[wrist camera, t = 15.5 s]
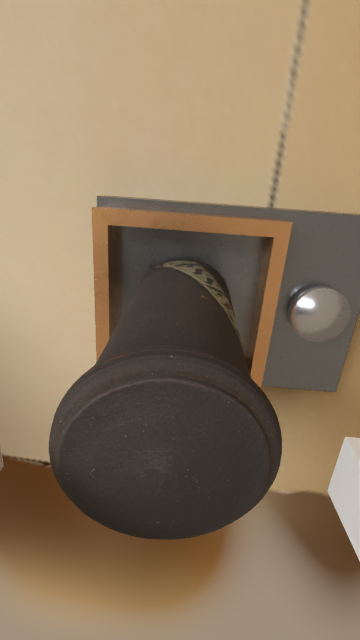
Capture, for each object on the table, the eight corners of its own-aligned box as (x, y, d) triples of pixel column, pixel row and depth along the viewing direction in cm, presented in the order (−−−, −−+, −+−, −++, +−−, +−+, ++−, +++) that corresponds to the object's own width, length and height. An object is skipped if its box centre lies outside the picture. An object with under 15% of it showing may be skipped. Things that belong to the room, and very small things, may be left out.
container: (239, 330, 30) (309, 545, 12) (150, 351, 32) (86, 576, 13) (218, 241, 27) (266, 340, 9) (120, 268, 29) (-17, 406, 10)
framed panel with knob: (110, 354, 36) (94, 386, 30) (108, 195, 30) (87, 196, 24) (321, 371, 36) (346, 407, 30) (362, 214, 30) (405, 219, 24)
